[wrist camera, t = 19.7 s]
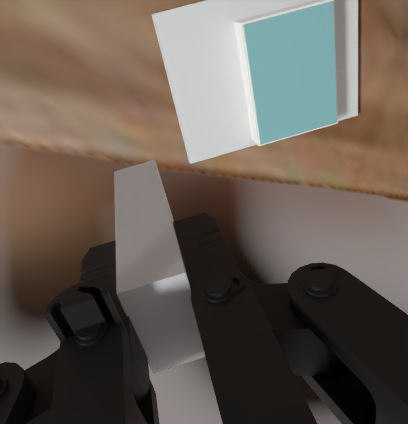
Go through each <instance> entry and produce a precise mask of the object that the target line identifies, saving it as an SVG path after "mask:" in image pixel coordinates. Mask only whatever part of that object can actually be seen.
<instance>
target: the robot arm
mask: <svg viewBox="0 0 408 424" xmlns="http://www.w3.org/2000/svg"><path fill="white" fill-rule="evenodd" d="M114 176H115V177H114V178H115V237H116V240H115V241H112V242H109V243H105V244H102V245H98V246H95V247H92V248H90V249H89V251H88V252H87V254H86V255H85V257H84V258H83V260H82V267H81V276H80V283H78V284H76V285H74V286H71V287H69V288H67V289H65V290H64V291H63V292H61V293H60V294H58V295H57V296H56V297H55V298H54V299H53V300H52V301H51V302H50V304H49V305H48V306H47V309H46V311H45V313H44V316H45V317H46V319H47V320H48V322H49V324H50V325H51V327H52V328H53V330H54V332H55V333H56V335H57V336H58V338H59V340H60V341H61V343H60V348H59V349H58V350H57V351H56V352H54V353H53V354H51V355H50V356H48V357H47V358H45V359H43V360H42V361H40V362H38V363H37V364H35V365H33V366H31V367H30V368H28V369H26V370H25V371H24V370H23V368H22V367H20V366H19V365H18V364H16V363H9V362H8V363H7V362H5V363H1V364H0V424H159V417H158V409H157V400H156V393H155V391H154V388H153V385H152V383H151V381H150V379H149V369H148V364H149V366H150V368H151V370H152V372H153V373H157V372H160V371H163V370H166V369H169V368H172V367H175V366H177V365H181V364H184V363H187V362H190V361H193V360H196V359H199V358H202V357H206V360H207V364H208V368H209V372H210V376H211V380H212V383H213V387H214V391H215V395H216V399H217V403H218V407H219V411H220V414H221V418H222V422H223V424H317V422H316V420H315V418H314V416H313V414H312V412H311V410H310V408H309V406H308V403H307V401H306V399H305V398H304V395H303V393H302V391H301V389H300V387H299V385H298V383H297V381H296V379H295V376H303V378H304V379H305V381H306V382H307V383H308V384H309V385H310V387H311V388H312V389H313V390H314V391H315V393H316V394H317V395H318V396H319V397H320V398H321V400H322V401H323V402H324V403H325V404H326V405H327V407H328V408H329V409H330V410H331V411H332V413H333V414H334V415H335V416H336V417H337V418H338V420H339V421H340V422H341V423H342V424H408V315H407V314H406V313H405V312H403V311H402V310H400V309H399V308H398V307H396V306H395V305H393V304H392V303H391V302H389V301H388V300H386V299H385V298H384V297H382V296H381V295H380V294H378V293H377V292H375V291H374V290H372V289H371V288H370V287H368V286H367V285H366V284H364V283H363V282H361V281H360V280H359V279H357V278H356V277H354V276H353V275H352V274H350V273H349V272H347V271H345V270H344V269H342V268H340V267H338V266H336V265H332V264H327V263H312V264H308V265H305V266H303V267H300V268H298V269H297V270H296V271H295V272H293V273H292V274H291V276H290V278H289V280H288V283H282V284H261V283H256V282H253V281H251V280H249V279H247V278H246V277H244V276H243V275H242V274H241V272H240V271H239V270H238V268H237V265H236V263H235V261H234V259H233V257H232V255H231V253H230V250H229V248H228V246H227V244H226V242H225V240H224V238H223V236H222V233H221V231H220V229H219V227H218V225H217V223H216V221H215V219H214V218H212V217H211V216H209V215H207V214H206V213H201V214H198V215H194V216H191V217H188V218H185V219H181V220H178V221H173V218H172V214H171V211H170V208H169V204H168V201H167V198H166V194H165V192H164V188H163V185H162V182H161V178H160V175H159V172H158V168H157V165H156V162H155V160H153V161H149V162H146V163H142V164H139V165H135V166H132V167H128V168H125V169H121V170H118V171H115V172H114Z"/></svg>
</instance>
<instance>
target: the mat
mask: <svg viewBox="0 0 408 424" xmlns="http://www.w3.org/2000/svg"><path fill="white" fill-rule="evenodd" d="M310 1H314V0H205V1H201V2H197V3H193V4H189V5H185V6H181V7H177V8H173V9H170V10H166V11H162V12H158V13H154V14H152V18H153V22H154V26H155V30H156V34H157V38H158V42H159V45H160V49H161V53H162V57H163V61H164V65H165V69H166V73H167V77H168V81H169V85H170V89H171V92H172V96H173V100H174V104H175V108H176V112H177V116H178V120H179V124H180V128H181V132H182V136H183V139H184V143H185V147H186V151H187V155H188V159H189V162H190V164H191V163H195V162H198V161H202V160H205V159H209V158H212V157H216V156H219V155H222V154H226V153H229V152H233V151H236V150H240V149H243V148H247V147H250V146H254V145H257V144H256V143H255V142H254V141H253V140H252V135H251V128H250V122H249V115H248V109H247V103H246V96H245V90H244V83H243V77H242V70H241V64H240V58H239V51H238V45H237V38H236V32H235V25H234V21H238V20H242V19H246V18H249V17H253V16H257V15H261V14H265V13H268V12H272V11H276V10H280V9H284V8H287V7H291V6H295V5H299V4H302V3H306V2H310ZM334 4H335V39H336V74H337V109H338V121H340V120H343V119H347V118H350V117H354V116H357V115H358V0H334Z"/></svg>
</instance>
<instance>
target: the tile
mask: <svg viewBox="0 0 408 424" xmlns="http://www.w3.org/2000/svg"><path fill="white" fill-rule="evenodd" d="M234 25H235V32H236V38H237V45H238V51H239V58H240V64H241V70H242V77H243V83H244V90H245V96H246V103H247V109H248V115H249V122H250V128H251V135H252V140H253V141H254V142H255V143H256V144H257V145H258V146H261V145H265V144H268V143H272V142H275V141H278V140H282V139H285V138H289V137H292V136H296V135H299V134H303V133H306V132H309V131H313V130H316V129H320V128H323V127H327V126H330V125H334V124H337V123H338V109H337V74H336V39H335V4H334V0H314V1H310V2H306V3H302V4H299V5H295V6H291V7H287V8H284V9H280V10H276V11H272V12H268V13H265V14H261V15H257V16H253V17H249V18H246V19H242V20H238V21H234Z"/></svg>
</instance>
